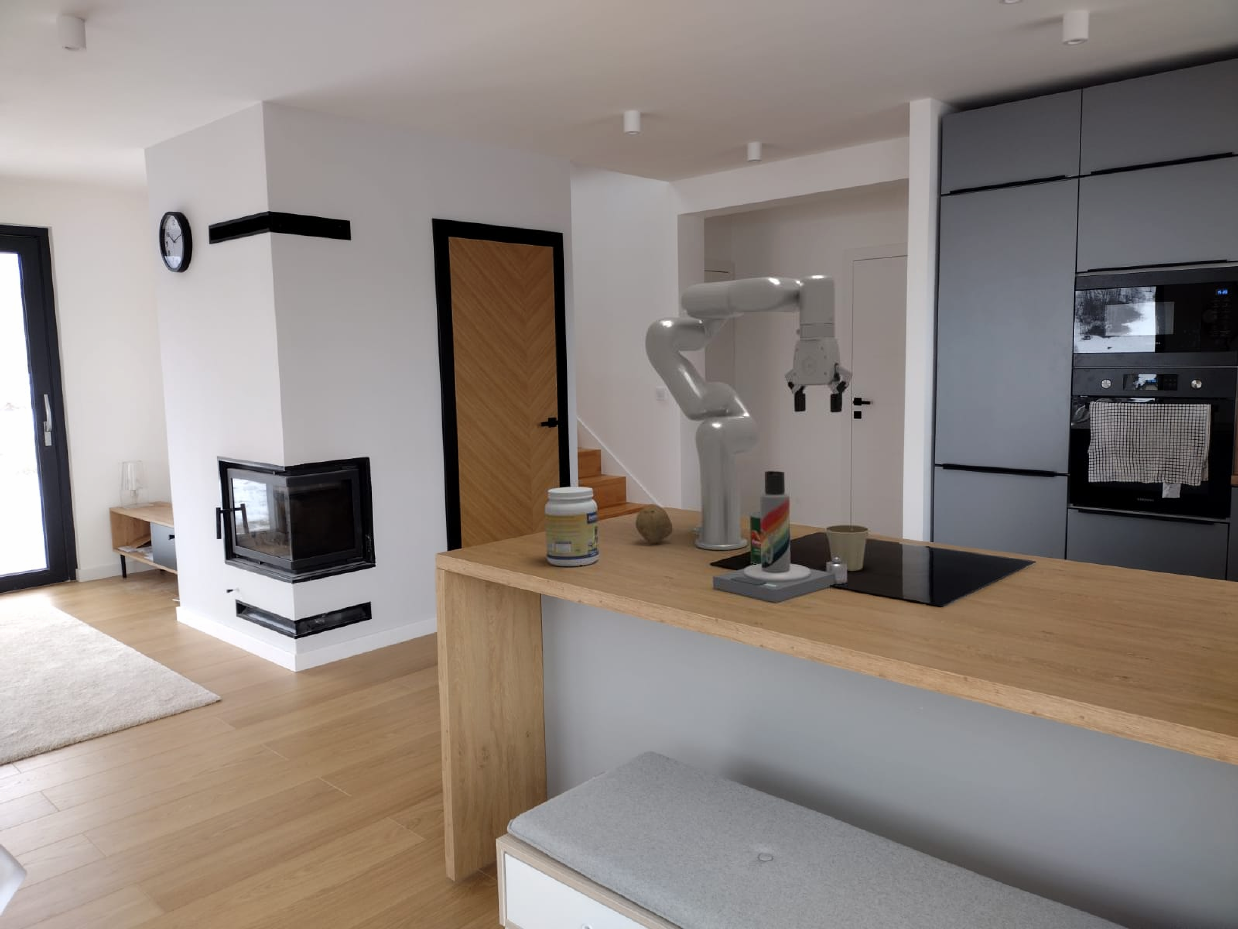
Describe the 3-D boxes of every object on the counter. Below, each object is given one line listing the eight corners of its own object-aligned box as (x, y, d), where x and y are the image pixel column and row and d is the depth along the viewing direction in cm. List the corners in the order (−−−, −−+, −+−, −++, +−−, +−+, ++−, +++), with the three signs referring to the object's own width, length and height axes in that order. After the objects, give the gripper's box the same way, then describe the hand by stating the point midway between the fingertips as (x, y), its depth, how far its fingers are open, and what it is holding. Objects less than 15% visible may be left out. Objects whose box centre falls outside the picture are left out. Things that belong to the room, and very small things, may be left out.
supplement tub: (598, 567, 198) (595, 492, 196) (544, 568, 199) (541, 493, 197) (600, 555, 210) (597, 484, 209) (549, 556, 211) (546, 486, 209)
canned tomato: (784, 558, 200) (784, 510, 199) (787, 566, 193) (787, 516, 192) (749, 559, 201) (748, 511, 200) (751, 566, 194) (750, 517, 192)
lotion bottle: (757, 571, 175) (755, 471, 173) (766, 565, 180) (765, 468, 178) (785, 574, 172) (784, 472, 170) (793, 567, 177) (792, 469, 175)
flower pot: (859, 575, 183) (859, 534, 182) (817, 570, 188) (817, 530, 187) (876, 566, 190) (876, 526, 189) (835, 561, 196) (835, 523, 195)
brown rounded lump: (631, 541, 226) (629, 503, 225) (663, 538, 229) (662, 500, 228) (642, 548, 218) (641, 508, 217) (676, 544, 220) (675, 505, 219)
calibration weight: (822, 583, 177) (822, 557, 177) (834, 579, 180) (834, 554, 179) (838, 586, 174) (838, 560, 174) (851, 582, 177) (850, 557, 176)
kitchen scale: (713, 588, 176) (712, 572, 175) (772, 572, 187) (771, 558, 187) (775, 602, 164) (775, 586, 163) (834, 585, 175) (834, 569, 175)
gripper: (775, 335, 196) (776, 412, 198) (839, 331, 183) (840, 413, 185) (796, 335, 201) (797, 410, 203) (861, 331, 188) (861, 411, 190)
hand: (817, 411), depth 194 cm, fingers open, 9 cm apart
